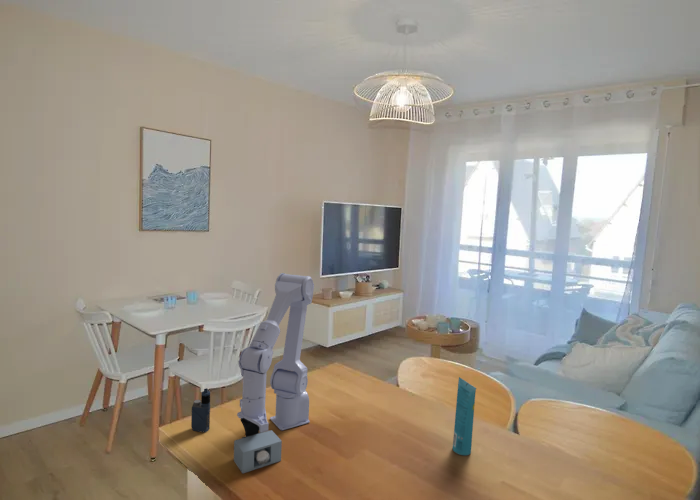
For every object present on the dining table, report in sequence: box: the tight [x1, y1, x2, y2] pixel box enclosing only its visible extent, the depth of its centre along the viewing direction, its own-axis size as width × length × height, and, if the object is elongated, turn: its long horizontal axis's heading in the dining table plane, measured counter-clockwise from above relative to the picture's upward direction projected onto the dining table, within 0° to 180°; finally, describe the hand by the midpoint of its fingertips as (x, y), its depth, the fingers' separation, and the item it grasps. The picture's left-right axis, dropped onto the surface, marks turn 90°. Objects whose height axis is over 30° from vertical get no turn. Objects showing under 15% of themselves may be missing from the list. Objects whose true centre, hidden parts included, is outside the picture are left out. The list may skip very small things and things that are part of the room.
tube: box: [452, 376, 477, 456], centre depth 111 cm, size 7×5×19 cm, turn 26°
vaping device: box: [190, 387, 211, 433], centre depth 115 cm, size 3×5×12 cm, turn 78°
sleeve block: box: [233, 429, 283, 474], centre depth 103 cm, size 6×10×5 cm, turn 125°
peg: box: [254, 448, 270, 465], centre depth 102 cm, size 7×4×4 cm, turn 35°
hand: (252, 444), depth 106 cm, fingers closed, pressing on sleeve block
